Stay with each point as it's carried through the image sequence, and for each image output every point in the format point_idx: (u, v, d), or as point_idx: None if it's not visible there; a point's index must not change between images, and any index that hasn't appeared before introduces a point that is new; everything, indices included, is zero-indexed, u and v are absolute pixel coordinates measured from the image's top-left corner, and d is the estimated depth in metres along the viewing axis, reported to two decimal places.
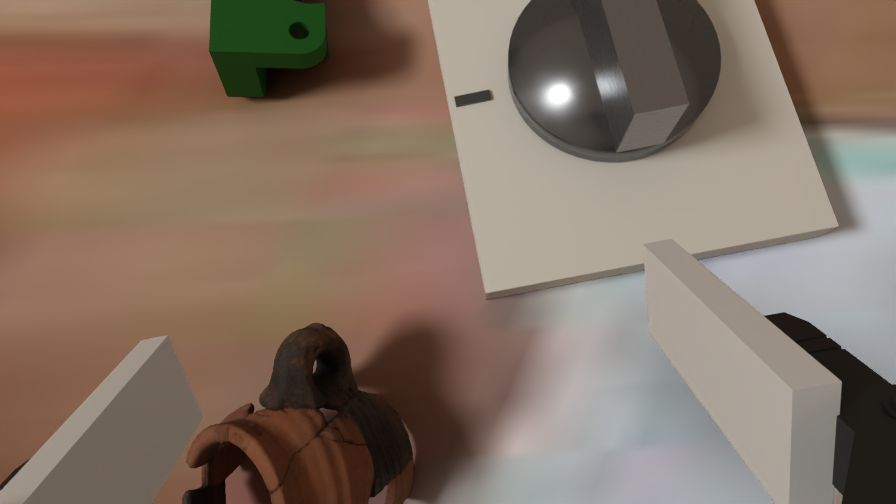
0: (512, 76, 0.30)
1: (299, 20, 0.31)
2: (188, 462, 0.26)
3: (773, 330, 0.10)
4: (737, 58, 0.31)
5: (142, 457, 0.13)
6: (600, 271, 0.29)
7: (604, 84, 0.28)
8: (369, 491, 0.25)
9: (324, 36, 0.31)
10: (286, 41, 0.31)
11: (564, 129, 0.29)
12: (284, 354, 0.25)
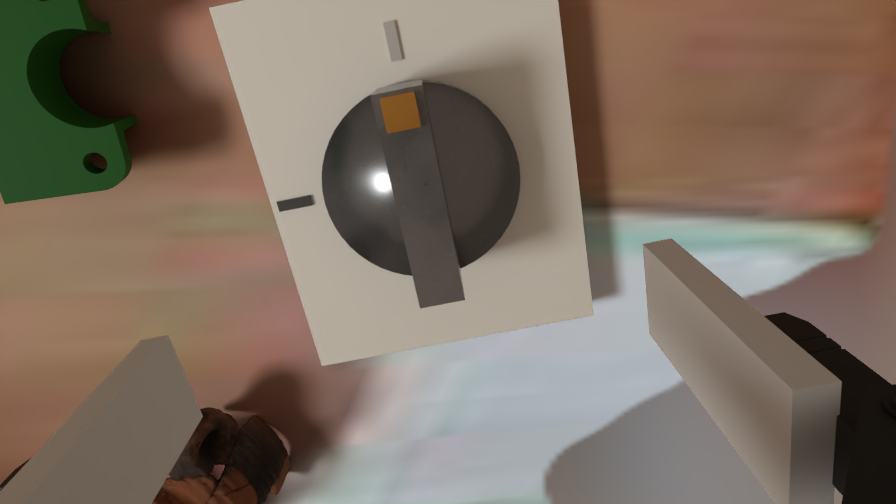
0: (327, 205, 0.32)
1: (91, 150, 0.29)
2: None
3: (773, 330, 0.10)
4: (543, 167, 0.33)
5: (142, 457, 0.13)
6: None
7: None
8: None
9: (124, 164, 0.30)
10: (85, 178, 0.30)
11: (376, 257, 0.33)
12: None
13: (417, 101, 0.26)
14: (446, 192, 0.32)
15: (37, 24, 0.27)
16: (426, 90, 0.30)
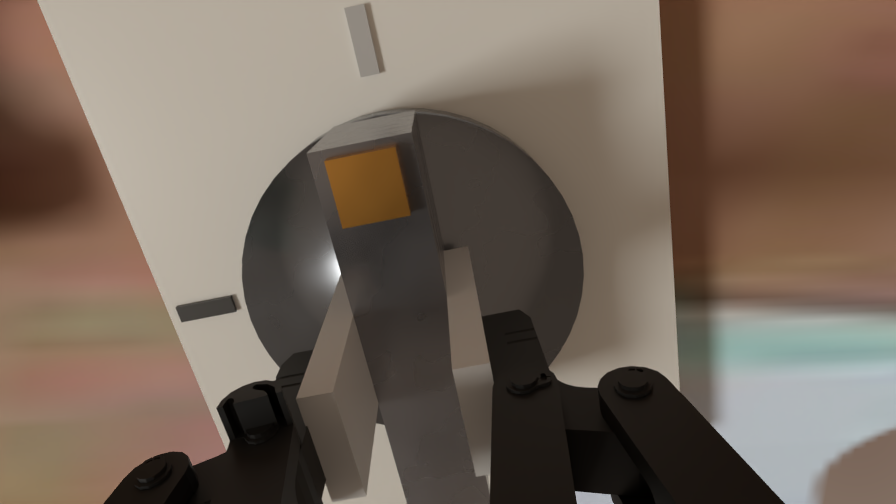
0: (253, 320, 0.19)
1: None
2: None
3: (477, 323, 0.13)
4: (616, 250, 0.20)
5: None
6: None
7: None
8: None
9: None
10: None
11: None
12: None
13: (403, 164, 0.13)
14: None
15: None
16: (422, 129, 0.17)
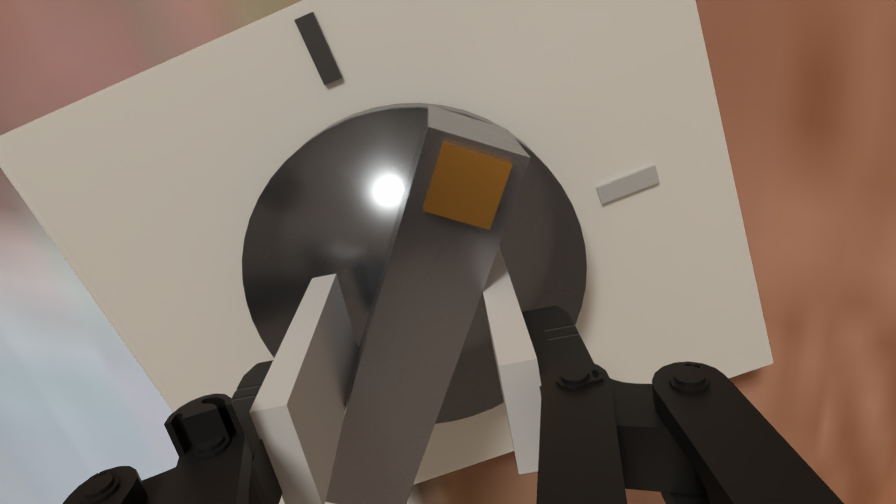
0: (246, 241, 0.17)
1: None
2: None
3: (518, 319, 0.12)
4: (468, 424, 0.22)
5: (336, 372, 0.15)
6: (97, 299, 0.20)
7: (358, 354, 0.18)
8: None
9: None
10: None
11: None
12: None
13: (506, 181, 0.13)
14: None
15: None
16: None
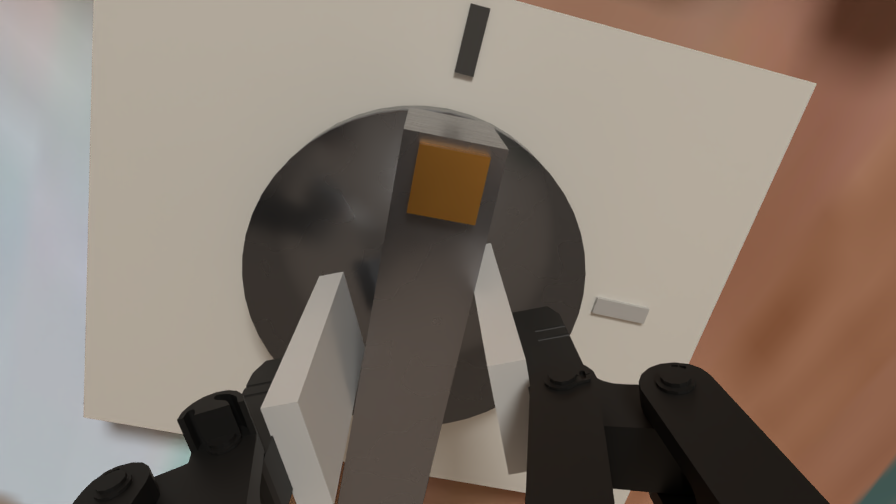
0: (245, 258, 0.18)
1: None
2: None
3: (508, 320, 0.12)
4: None
5: (344, 370, 0.15)
6: None
7: None
8: None
9: None
10: None
11: None
12: None
13: (487, 175, 0.13)
14: None
15: None
16: None
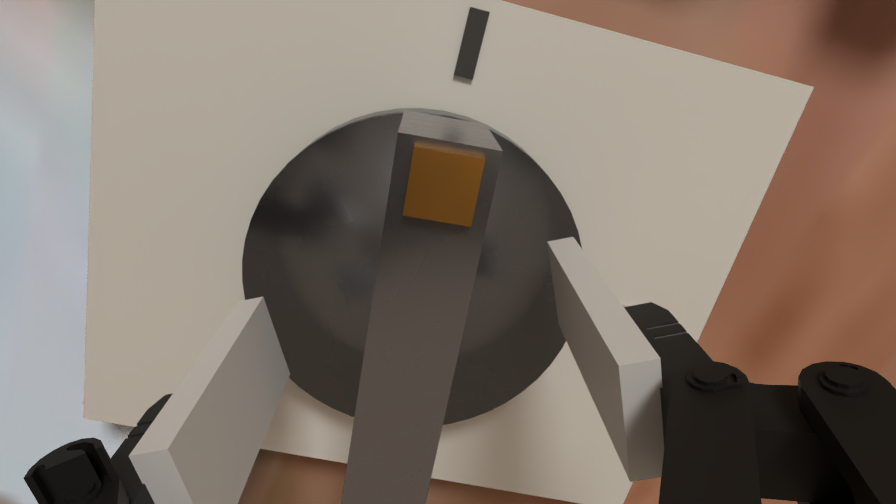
0: (245, 263, 0.18)
1: None
2: None
3: (624, 316, 0.12)
4: None
5: (253, 402, 0.14)
6: (94, 105, 0.18)
7: None
8: None
9: None
10: None
11: (297, 369, 0.19)
12: None
13: (482, 177, 0.13)
14: None
15: None
16: None
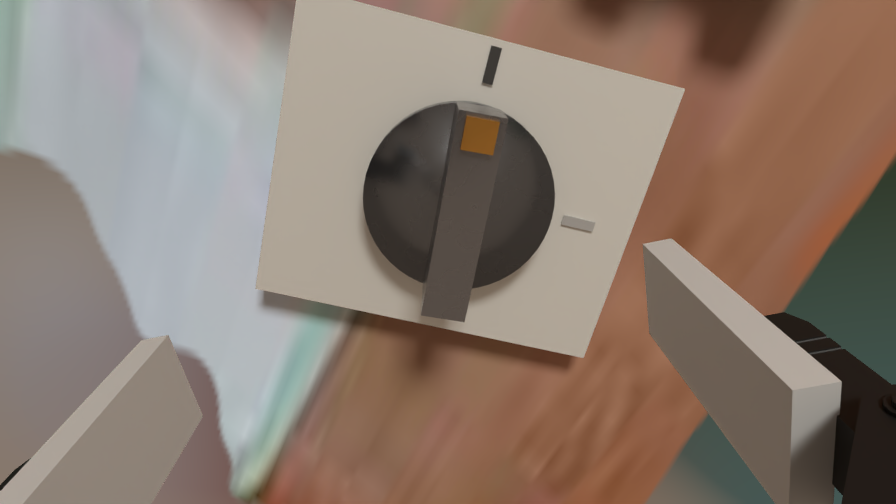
0: (364, 187, 0.32)
1: None
2: None
3: (773, 330, 0.10)
4: (418, 295, 0.36)
5: (142, 457, 0.13)
6: None
7: (431, 242, 0.32)
8: None
9: None
10: None
11: (390, 251, 0.33)
12: None
13: (498, 131, 0.27)
14: None
15: None
16: None
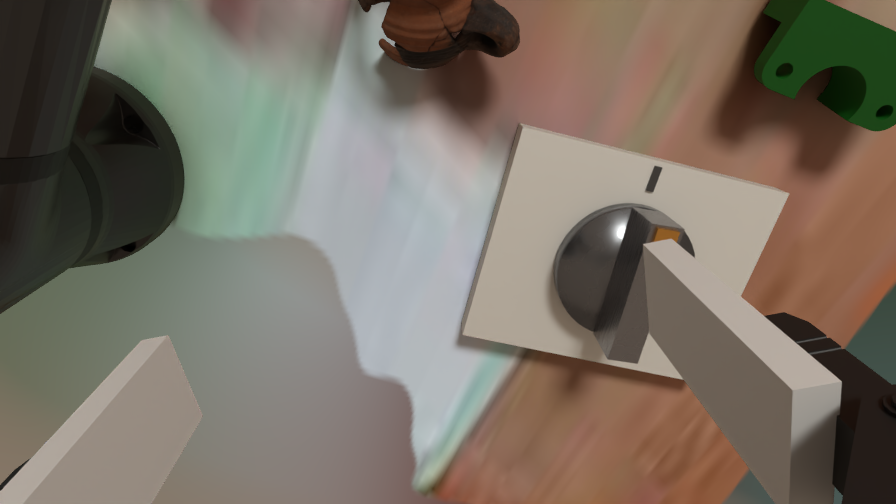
0: (560, 265, 0.44)
1: (792, 74, 0.39)
2: None
3: (773, 330, 0.10)
4: (582, 338, 0.49)
5: (142, 457, 0.13)
6: (501, 202, 0.44)
7: (608, 305, 0.44)
8: (399, 44, 0.37)
9: (768, 87, 0.39)
10: (782, 57, 0.38)
11: (572, 310, 0.46)
12: (505, 21, 0.36)
13: (677, 237, 0.40)
14: None
15: (872, 97, 0.39)
16: None
